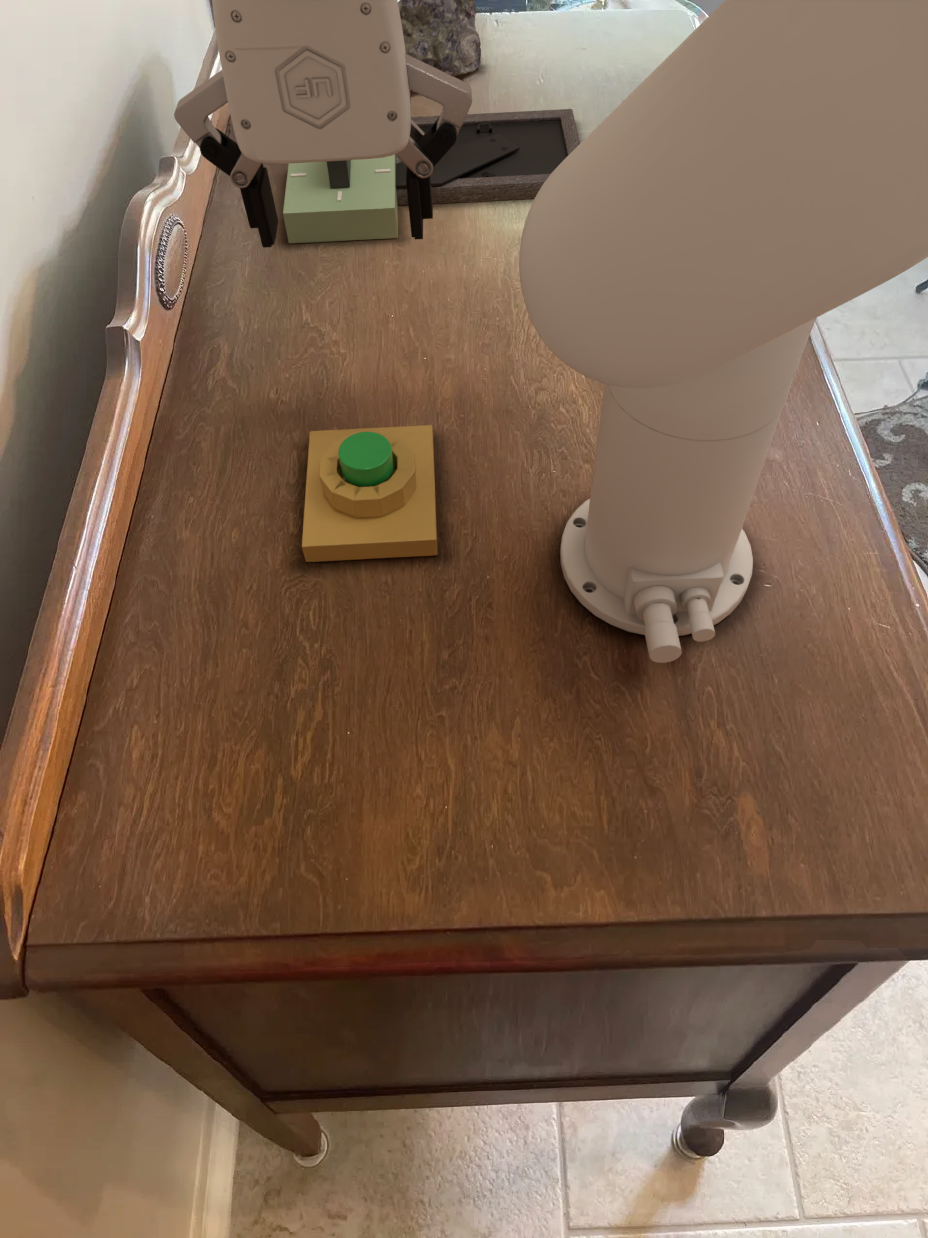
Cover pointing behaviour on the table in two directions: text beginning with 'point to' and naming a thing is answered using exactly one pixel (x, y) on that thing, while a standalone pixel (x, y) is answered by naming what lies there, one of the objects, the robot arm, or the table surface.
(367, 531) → the switch block
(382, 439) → the button
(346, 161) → the dimmer knob
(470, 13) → the mineral rock
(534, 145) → the picture frame
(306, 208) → the dimmer panel
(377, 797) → the table surface
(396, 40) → the robot arm
